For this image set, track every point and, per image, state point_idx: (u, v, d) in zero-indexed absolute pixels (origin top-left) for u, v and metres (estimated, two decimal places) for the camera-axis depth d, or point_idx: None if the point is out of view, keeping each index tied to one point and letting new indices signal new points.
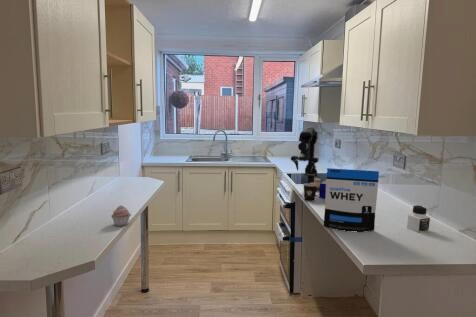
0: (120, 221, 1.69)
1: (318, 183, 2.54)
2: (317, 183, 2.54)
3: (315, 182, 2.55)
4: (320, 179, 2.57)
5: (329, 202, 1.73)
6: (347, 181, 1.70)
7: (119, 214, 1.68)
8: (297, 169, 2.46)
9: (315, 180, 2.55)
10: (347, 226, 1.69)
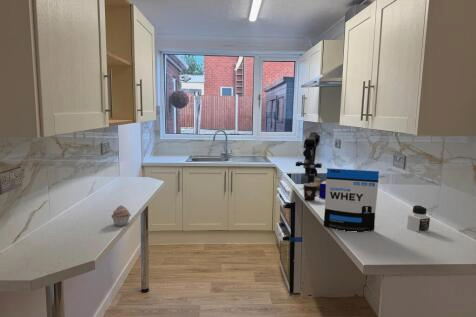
0: (120, 221, 1.69)
1: (318, 183, 2.54)
2: (317, 183, 2.54)
3: (315, 182, 2.55)
4: (320, 179, 2.57)
5: (329, 202, 1.73)
6: (347, 181, 1.70)
7: (119, 214, 1.68)
8: (307, 175, 2.58)
9: (315, 180, 2.55)
10: (347, 226, 1.69)
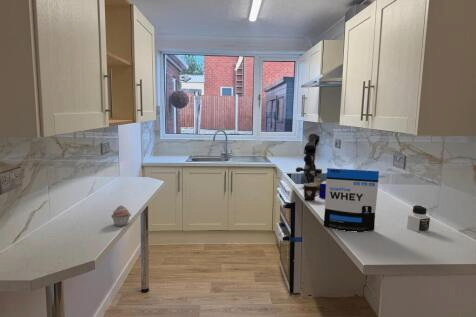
0: (120, 221, 1.69)
1: (318, 183, 2.54)
2: (317, 183, 2.54)
3: (315, 182, 2.55)
4: (320, 179, 2.57)
5: (329, 202, 1.73)
6: (347, 181, 1.70)
7: (119, 214, 1.68)
8: (307, 180, 2.58)
9: (315, 180, 2.55)
10: (347, 226, 1.69)
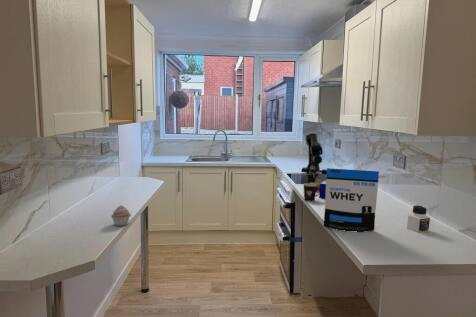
0: (120, 221, 1.69)
1: None
2: (319, 183, 2.54)
3: (317, 182, 2.54)
4: None
5: (329, 202, 1.73)
6: (347, 181, 1.70)
7: (119, 214, 1.68)
8: (313, 181, 2.57)
9: (317, 180, 2.54)
10: (347, 226, 1.69)
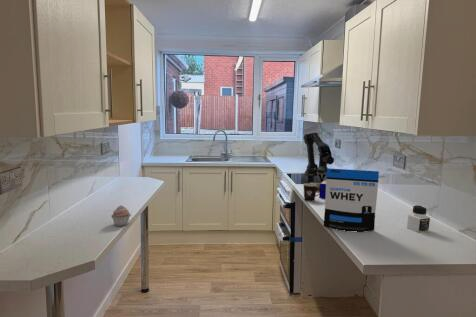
0: (120, 221, 1.69)
1: None
2: None
3: None
4: None
5: (329, 202, 1.73)
6: (347, 181, 1.70)
7: (119, 214, 1.68)
8: (321, 182, 2.54)
9: None
10: (347, 226, 1.69)
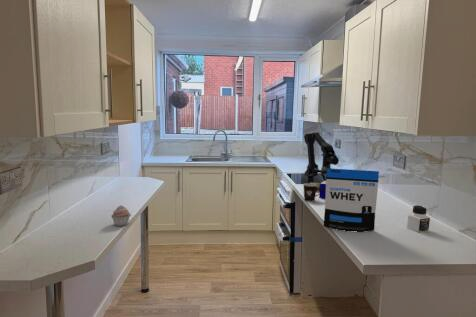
0: (120, 221, 1.69)
1: None
2: None
3: None
4: None
5: (329, 202, 1.73)
6: (347, 181, 1.70)
7: (119, 214, 1.68)
8: None
9: None
10: (347, 226, 1.69)
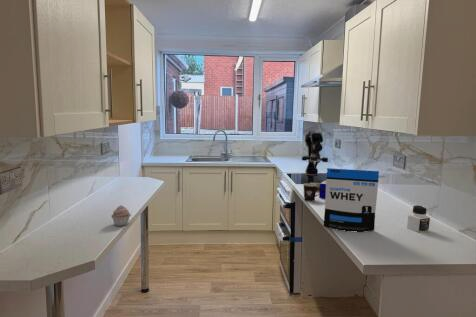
0: (120, 221, 1.69)
1: None
2: None
3: None
4: None
5: (329, 202, 1.73)
6: (347, 181, 1.70)
7: (119, 214, 1.68)
8: (314, 169, 2.58)
9: None
10: (347, 226, 1.69)
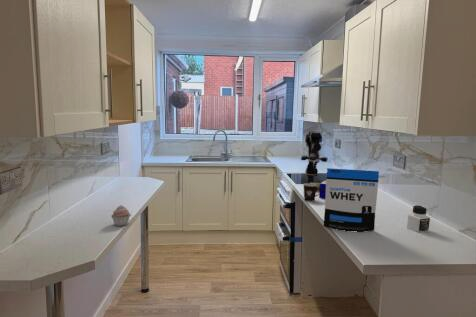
0: (120, 221, 1.69)
1: None
2: None
3: None
4: None
5: (329, 202, 1.73)
6: (347, 181, 1.70)
7: (119, 214, 1.68)
8: (313, 169, 2.58)
9: None
10: (347, 226, 1.69)
